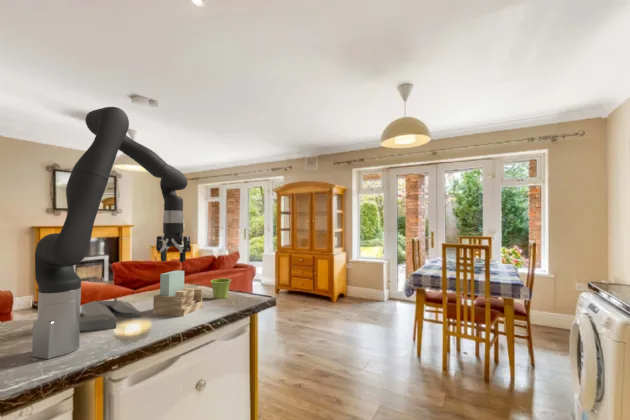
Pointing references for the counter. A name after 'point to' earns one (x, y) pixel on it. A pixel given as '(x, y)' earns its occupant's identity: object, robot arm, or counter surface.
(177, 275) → the tall board
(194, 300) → the offcut bottom
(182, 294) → the offcut top
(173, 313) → the rack
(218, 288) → the plant pot
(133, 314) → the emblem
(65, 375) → the counter surface
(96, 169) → the robot arm
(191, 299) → the offcut middle
